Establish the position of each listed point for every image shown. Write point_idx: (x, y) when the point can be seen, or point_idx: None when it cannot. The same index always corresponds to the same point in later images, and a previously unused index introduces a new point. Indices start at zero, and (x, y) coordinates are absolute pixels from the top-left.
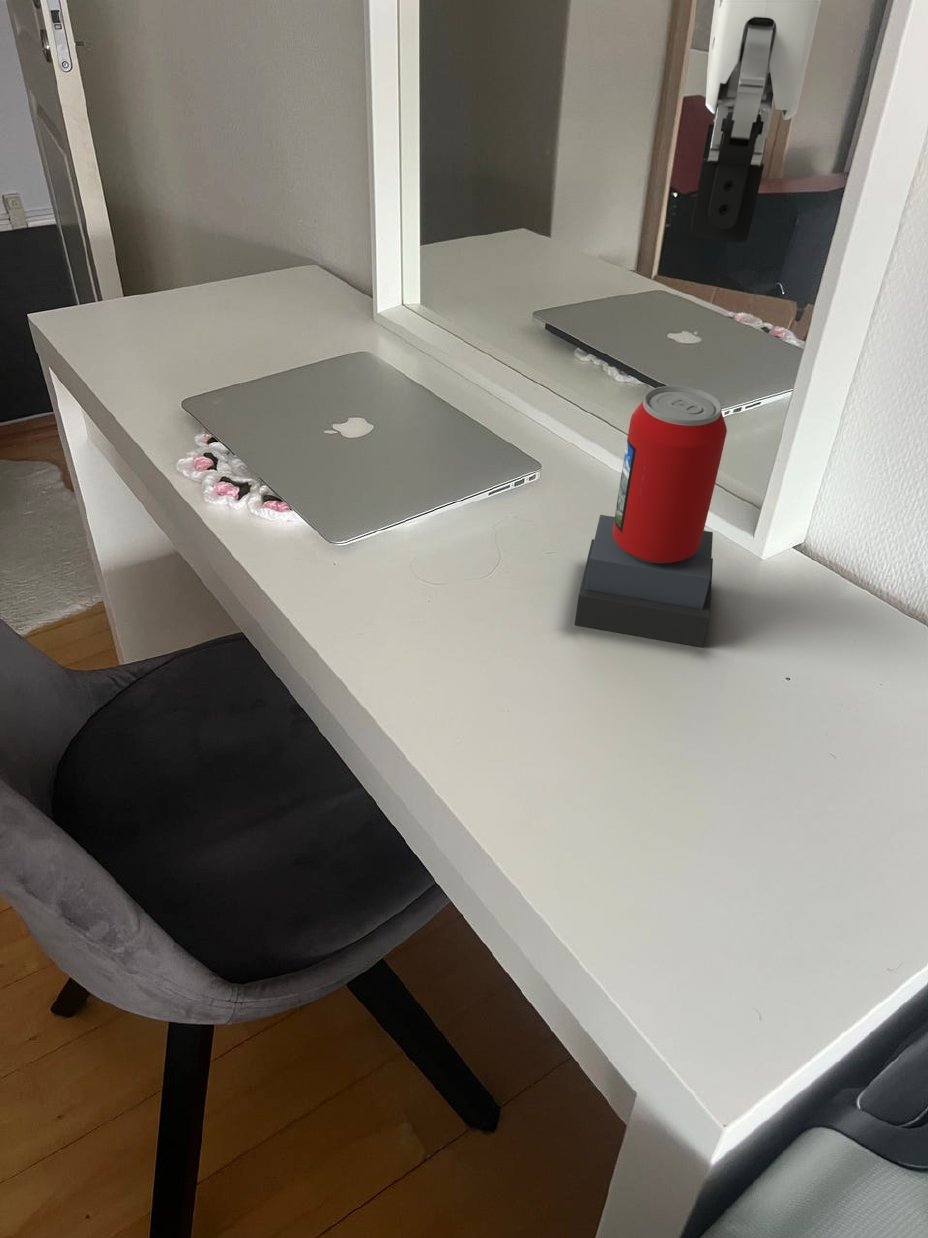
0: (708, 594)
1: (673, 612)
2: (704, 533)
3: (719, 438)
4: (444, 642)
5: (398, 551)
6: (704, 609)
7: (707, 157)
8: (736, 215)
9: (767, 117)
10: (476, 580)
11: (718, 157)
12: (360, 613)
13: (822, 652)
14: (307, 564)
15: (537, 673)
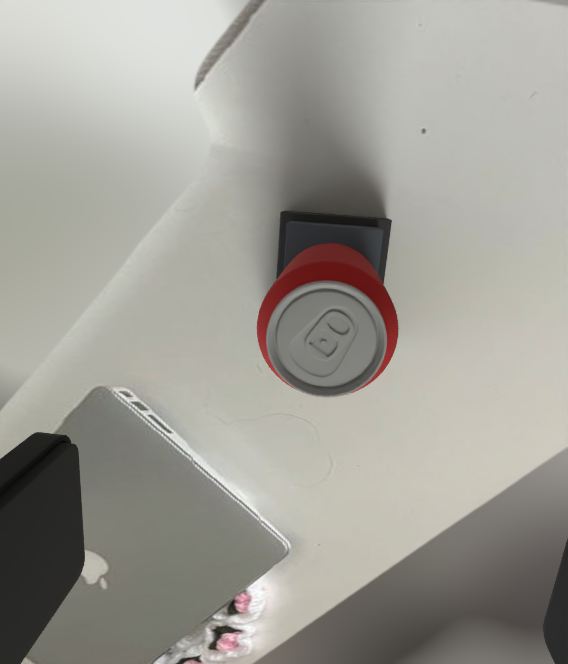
0: (350, 219)
1: (386, 257)
2: (292, 233)
3: (368, 276)
4: (413, 447)
5: (288, 499)
6: (378, 225)
7: (21, 656)
8: None
9: None
10: (318, 430)
11: (12, 625)
12: (384, 515)
13: (375, 87)
14: (324, 564)
15: (445, 369)
